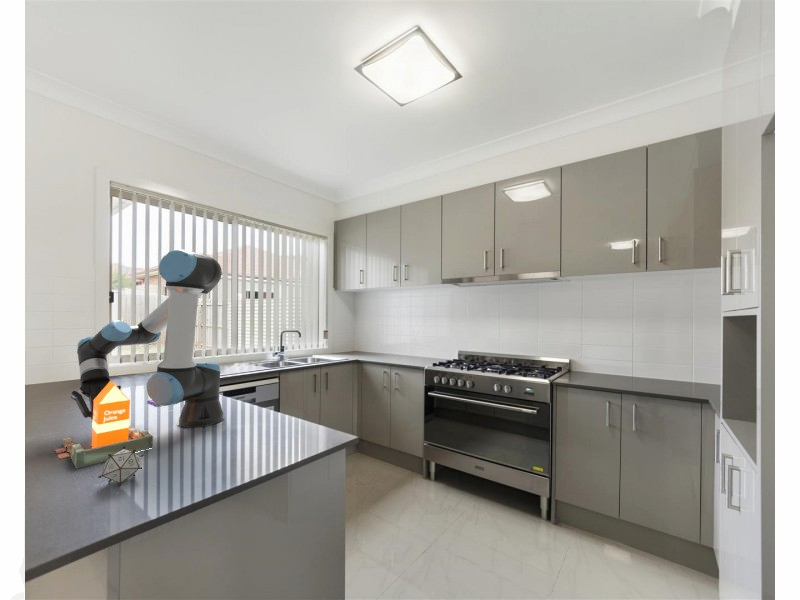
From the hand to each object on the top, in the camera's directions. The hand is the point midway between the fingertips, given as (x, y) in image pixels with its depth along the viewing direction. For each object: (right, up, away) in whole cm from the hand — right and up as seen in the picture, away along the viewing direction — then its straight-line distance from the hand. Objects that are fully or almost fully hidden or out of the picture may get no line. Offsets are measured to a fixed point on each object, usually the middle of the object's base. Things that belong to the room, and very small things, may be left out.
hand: (101, 432), depth 107 cm
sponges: (-18, -7, +51) cm, 55 cm away
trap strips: (-5, -3, -8) cm, 10 cm away
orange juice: (+4, -4, -2) cm, 6 cm away
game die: (+27, -3, -24) cm, 36 cm away
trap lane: (+4, -4, -2) cm, 6 cm away
